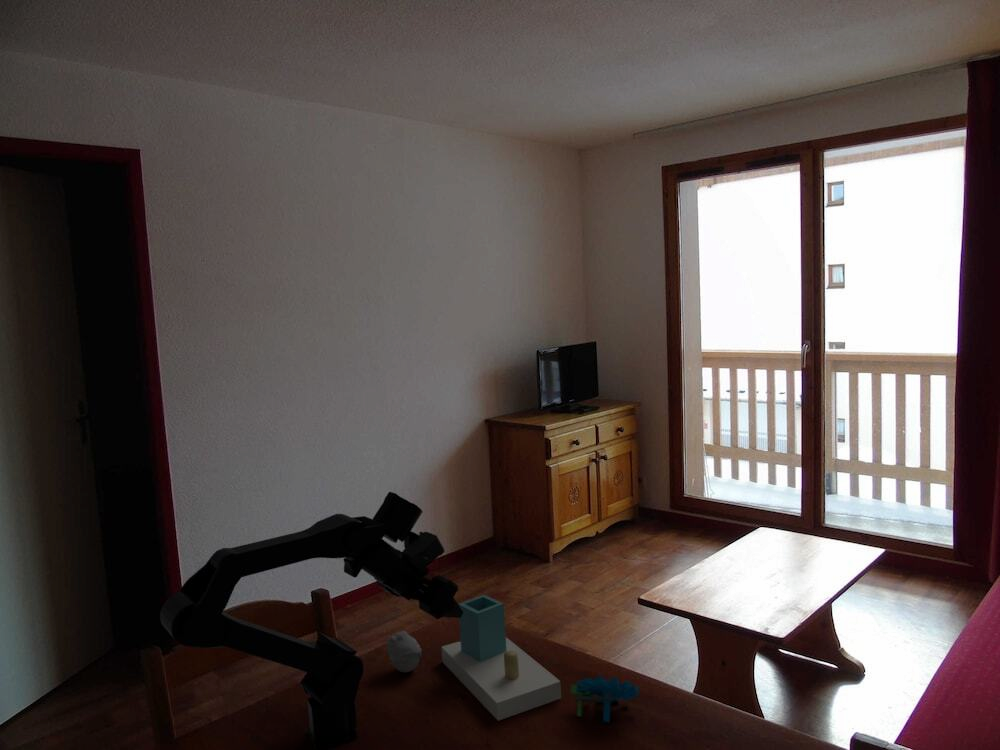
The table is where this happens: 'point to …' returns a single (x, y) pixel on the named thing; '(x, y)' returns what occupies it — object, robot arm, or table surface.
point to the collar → (482, 628)
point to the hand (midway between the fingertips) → (446, 607)
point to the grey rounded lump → (403, 651)
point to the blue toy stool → (602, 693)
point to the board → (503, 679)
